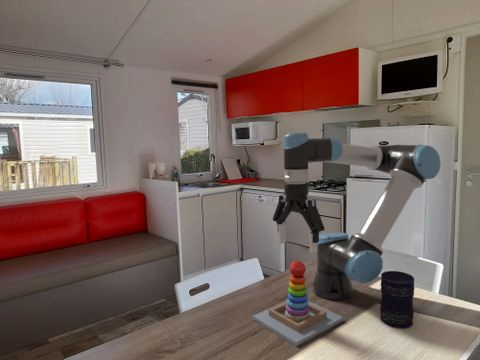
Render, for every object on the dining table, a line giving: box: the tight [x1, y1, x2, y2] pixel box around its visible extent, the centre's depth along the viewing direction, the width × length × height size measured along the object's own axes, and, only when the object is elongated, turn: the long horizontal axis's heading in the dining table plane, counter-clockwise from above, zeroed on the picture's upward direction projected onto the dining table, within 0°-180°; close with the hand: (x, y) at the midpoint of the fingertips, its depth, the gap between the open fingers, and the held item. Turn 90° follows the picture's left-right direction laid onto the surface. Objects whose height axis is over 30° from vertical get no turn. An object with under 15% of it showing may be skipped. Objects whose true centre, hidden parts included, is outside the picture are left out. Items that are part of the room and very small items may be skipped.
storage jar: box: [379, 270, 415, 330], centre depth 112 cm, size 10×10×15 cm
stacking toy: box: [285, 260, 310, 322], centre depth 114 cm, size 8×8×19 cm
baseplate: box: [252, 300, 344, 347], centre depth 115 cm, size 22×20×3 cm
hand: (297, 247), depth 113 cm, fingers open, 13 cm apart
